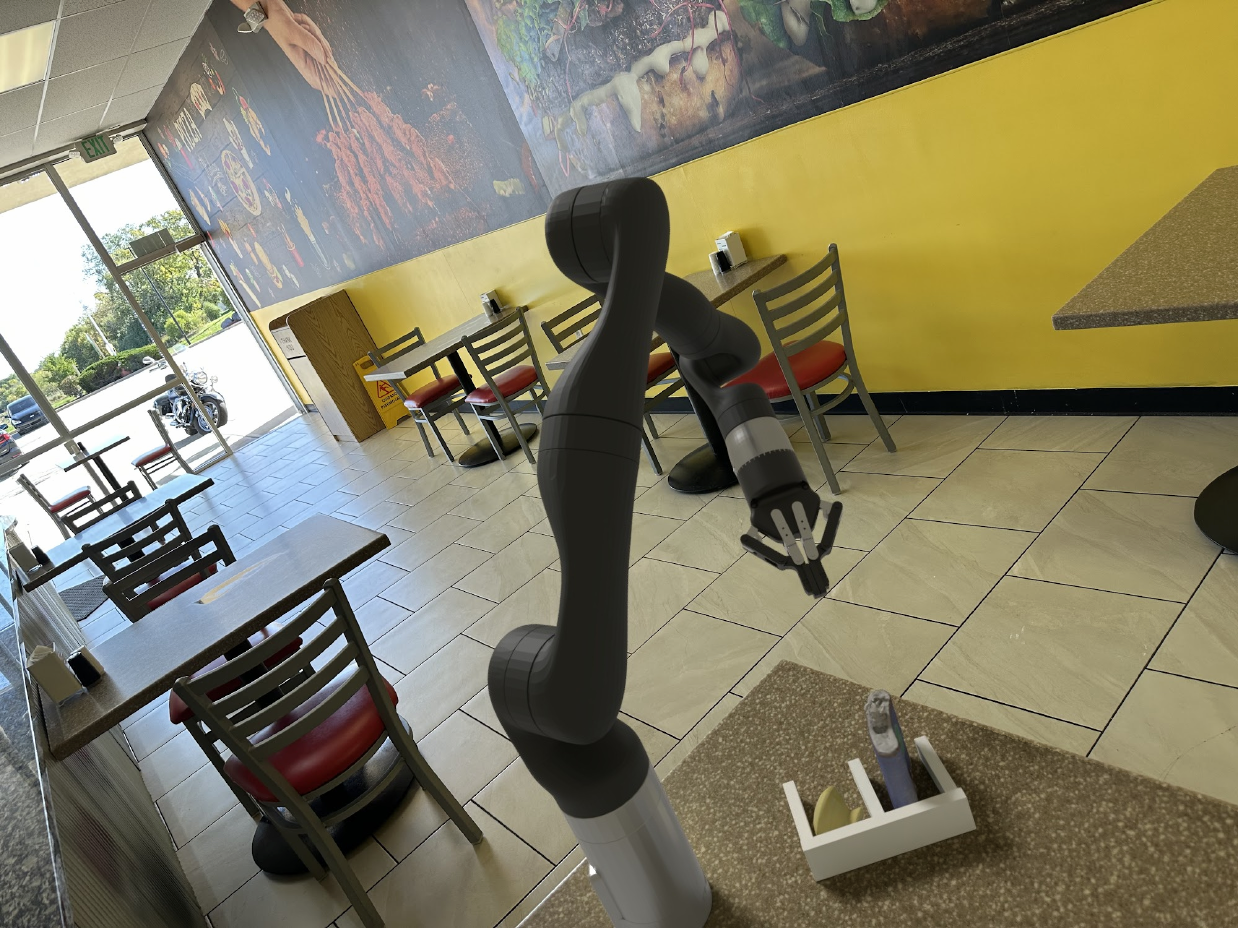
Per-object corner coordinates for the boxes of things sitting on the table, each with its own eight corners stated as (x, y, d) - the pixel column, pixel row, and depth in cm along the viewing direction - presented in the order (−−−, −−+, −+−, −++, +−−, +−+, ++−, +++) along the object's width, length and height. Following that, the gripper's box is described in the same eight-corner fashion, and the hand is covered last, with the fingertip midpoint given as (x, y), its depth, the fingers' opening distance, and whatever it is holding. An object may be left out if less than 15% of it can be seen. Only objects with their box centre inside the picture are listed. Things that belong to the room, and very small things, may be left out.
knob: (813, 849, 78) (798, 812, 76) (830, 808, 81) (816, 771, 80) (860, 859, 75) (845, 821, 73) (875, 816, 78) (861, 778, 77)
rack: (815, 881, 74) (803, 851, 73) (789, 801, 84) (778, 773, 83) (976, 828, 73) (966, 796, 72) (930, 753, 83) (921, 723, 81)
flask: (925, 821, 76) (895, 736, 72) (894, 825, 77) (863, 741, 73) (910, 751, 84) (883, 671, 81) (882, 755, 85) (854, 677, 82)
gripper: (709, 470, 93) (762, 607, 85) (816, 430, 92) (880, 566, 84) (717, 493, 100) (766, 622, 92) (817, 456, 98) (876, 584, 91)
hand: (821, 595), depth 88 cm, fingers closed
